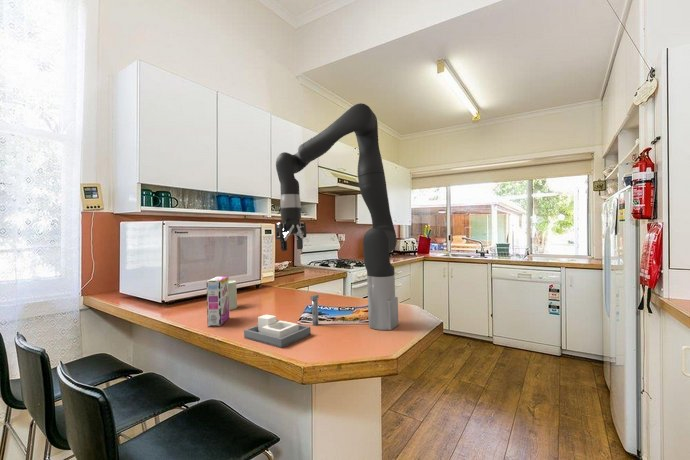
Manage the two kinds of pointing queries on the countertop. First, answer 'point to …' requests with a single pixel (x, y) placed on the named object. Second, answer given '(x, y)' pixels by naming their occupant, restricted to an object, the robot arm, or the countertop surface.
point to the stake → (315, 309)
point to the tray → (276, 341)
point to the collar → (275, 326)
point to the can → (232, 295)
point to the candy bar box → (217, 301)
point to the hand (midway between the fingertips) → (292, 250)
